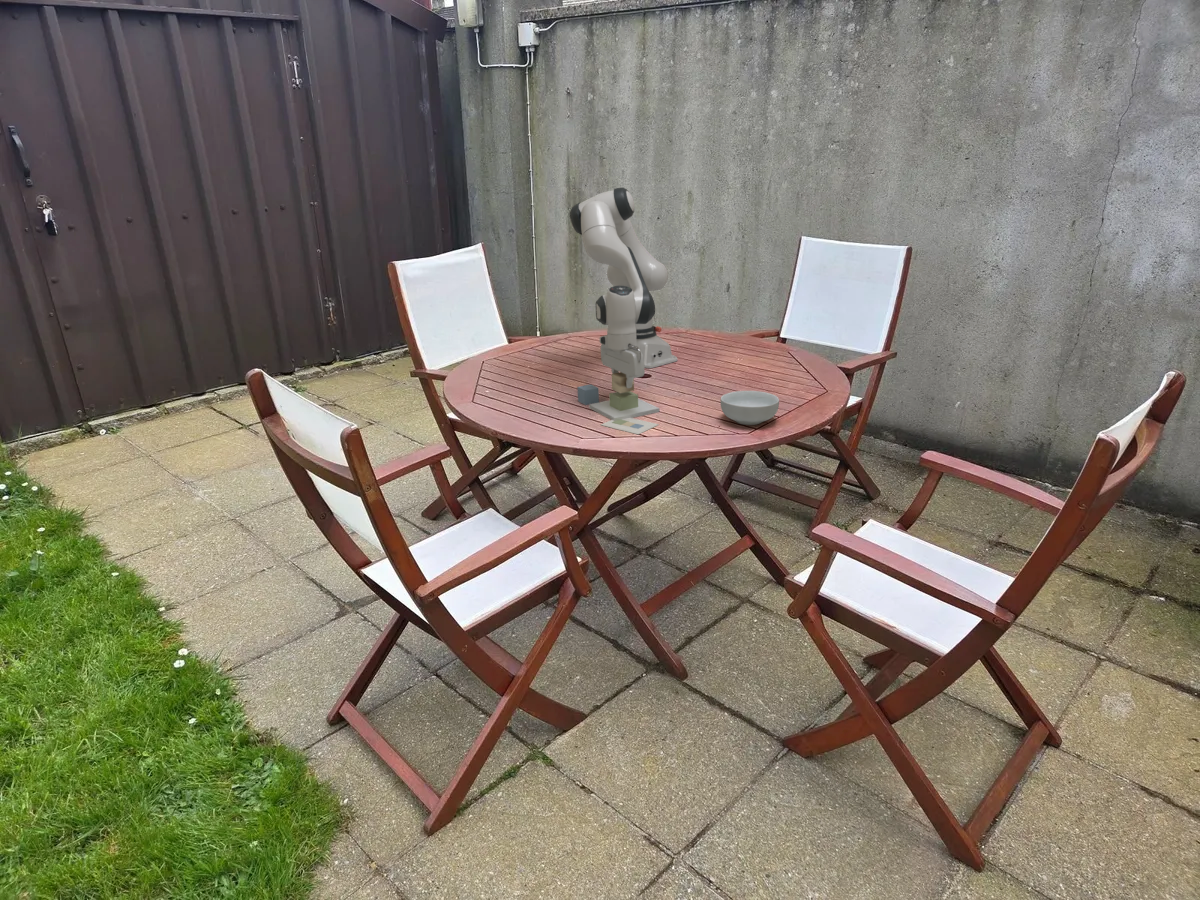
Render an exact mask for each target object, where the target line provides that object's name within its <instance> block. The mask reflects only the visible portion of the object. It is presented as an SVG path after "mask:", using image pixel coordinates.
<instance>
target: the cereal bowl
mask: <svg viewBox="0 0 1200 900" xmlns="http://www.w3.org/2000/svg"><path fill="white" fill-rule="evenodd" d="M779 405H780V399H779V397H778V395H775V394H773V393H770V392H766V391H765V392H764V391H759V390H738V391H731V392H728V393H725V394H722V396H721V397H720V408H721V411H722V413H723V414H724V415H725V416H726V417H727V418H729V419H731V420H733V421H735V422H736V423H737V424H740V425H746V426H756V425H759V424H761V423H763V422H765V421H768V420H771V419H773V417H774V416H775V415H776V414H777V412H778V410H779V407H780V406H779Z"/></svg>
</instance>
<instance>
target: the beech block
mask: <svg viewBox="0 0 1200 900" xmlns="http://www.w3.org/2000/svg"><path fill="white" fill-rule="evenodd" d="M626 380H627V378H626V374H624V373H621V372H619V373H614V374H612V373H611V390H613V391H614V392H619V393H624V392H629V391H631V392H634V391H635V378H634V379H633V381H632V387H631V388H626V387H625V382H626Z"/></svg>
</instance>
